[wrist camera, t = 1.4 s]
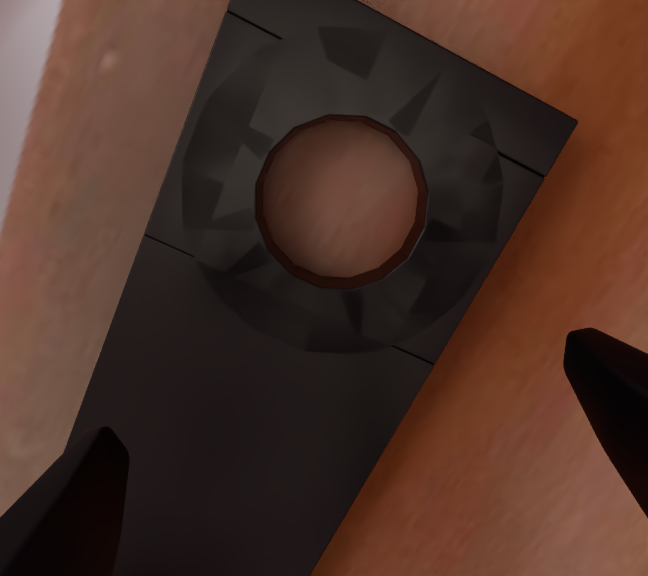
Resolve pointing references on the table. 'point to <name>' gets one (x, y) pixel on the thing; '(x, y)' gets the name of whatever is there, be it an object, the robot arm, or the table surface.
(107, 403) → the plant stand
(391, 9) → the table surface
